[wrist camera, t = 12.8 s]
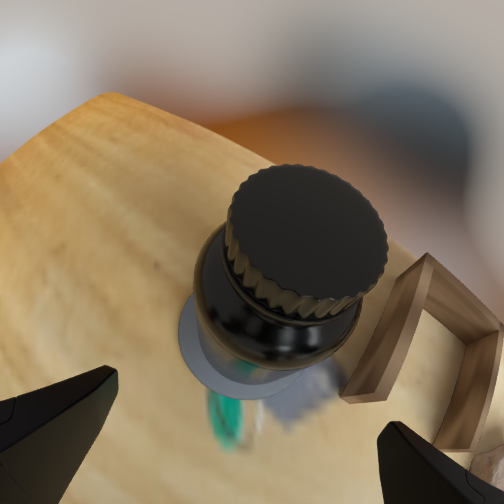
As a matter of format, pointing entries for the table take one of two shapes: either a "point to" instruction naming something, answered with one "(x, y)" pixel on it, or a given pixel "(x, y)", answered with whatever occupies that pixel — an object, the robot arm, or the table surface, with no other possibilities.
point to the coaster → (209, 374)
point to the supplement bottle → (286, 273)
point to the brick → (490, 467)
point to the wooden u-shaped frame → (459, 323)
